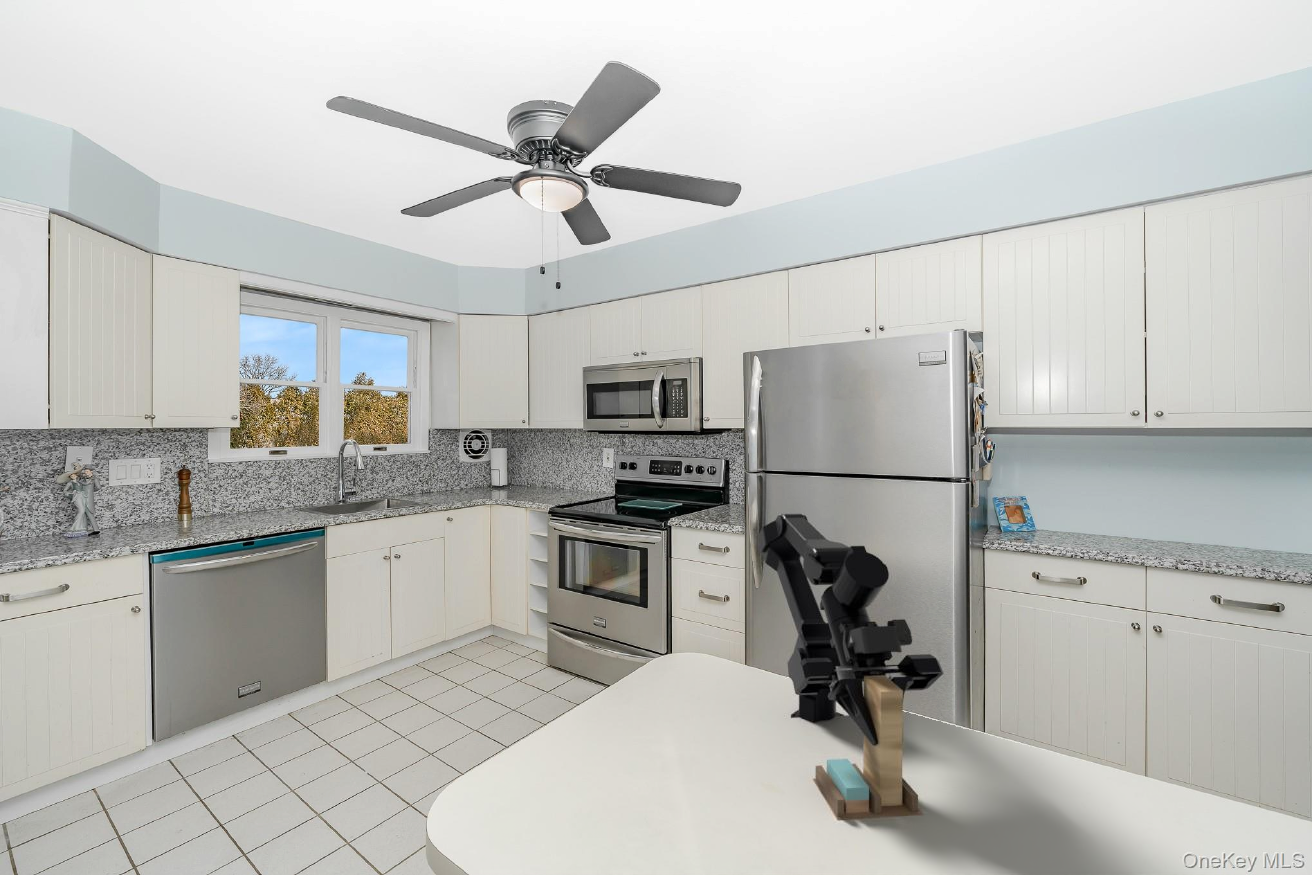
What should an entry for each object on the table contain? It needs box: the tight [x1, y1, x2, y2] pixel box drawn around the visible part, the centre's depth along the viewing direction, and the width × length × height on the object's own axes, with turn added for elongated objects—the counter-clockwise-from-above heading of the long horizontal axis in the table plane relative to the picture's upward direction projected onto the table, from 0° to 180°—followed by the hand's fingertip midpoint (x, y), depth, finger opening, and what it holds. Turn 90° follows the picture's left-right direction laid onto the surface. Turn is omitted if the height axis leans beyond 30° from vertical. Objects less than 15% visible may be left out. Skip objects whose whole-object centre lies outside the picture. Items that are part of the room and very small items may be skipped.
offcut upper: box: [826, 758, 869, 801], centre depth 71 cm, size 6×3×2 cm, turn 5°
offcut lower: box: [826, 771, 869, 813], centre depth 71 cm, size 6×3×2 cm, turn 5°
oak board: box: [862, 675, 904, 806], centre depth 72 cm, size 4×3×14 cm, turn 5°
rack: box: [812, 763, 924, 821], centre depth 71 cm, size 8×11×3 cm
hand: (888, 743), depth 70 cm, fingers closed on oak board, 3 cm apart
